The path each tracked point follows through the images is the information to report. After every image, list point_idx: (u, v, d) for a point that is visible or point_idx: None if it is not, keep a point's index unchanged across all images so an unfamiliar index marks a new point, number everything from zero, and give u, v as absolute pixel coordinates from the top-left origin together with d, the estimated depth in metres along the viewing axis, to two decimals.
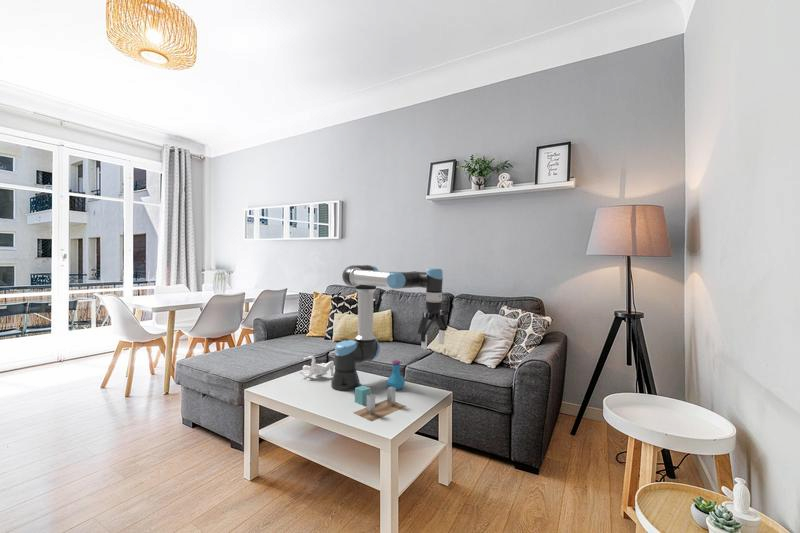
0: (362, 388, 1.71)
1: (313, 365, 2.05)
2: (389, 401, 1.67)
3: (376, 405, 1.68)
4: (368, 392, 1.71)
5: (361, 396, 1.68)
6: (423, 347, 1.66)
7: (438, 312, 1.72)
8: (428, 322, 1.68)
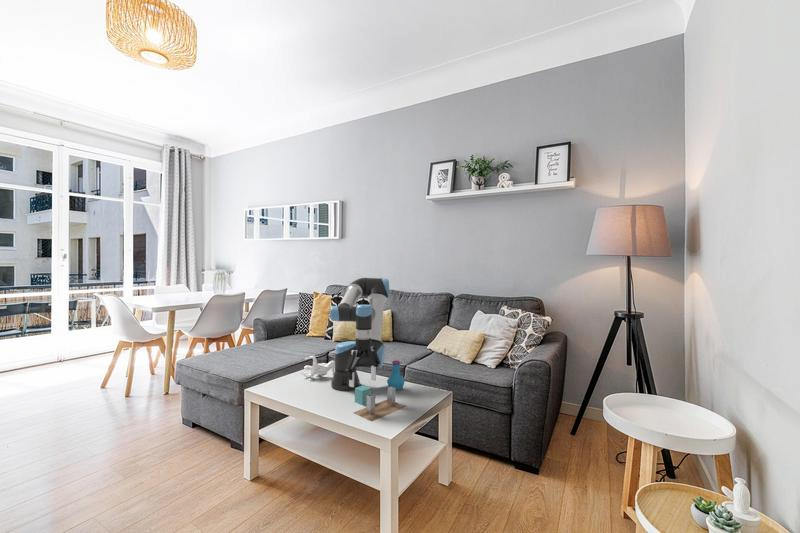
0: (362, 388, 1.71)
1: (315, 365, 2.05)
2: (389, 401, 1.67)
3: (376, 405, 1.68)
4: (368, 392, 1.71)
5: (361, 396, 1.68)
6: (350, 385, 1.66)
7: (368, 349, 1.72)
8: (356, 359, 1.67)
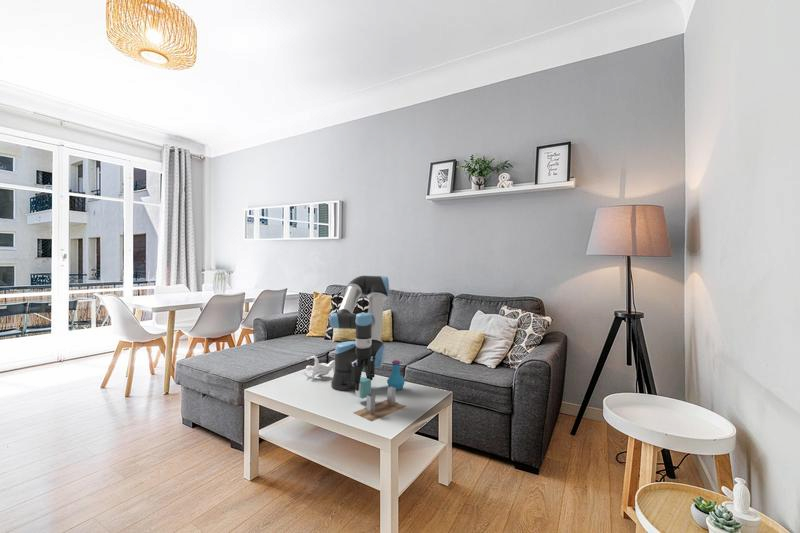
0: (362, 380, 1.71)
1: (317, 365, 2.06)
2: (389, 401, 1.67)
3: (376, 405, 1.68)
4: (368, 384, 1.71)
5: (361, 388, 1.69)
6: (357, 395, 1.70)
7: (368, 356, 1.72)
8: (359, 370, 1.69)
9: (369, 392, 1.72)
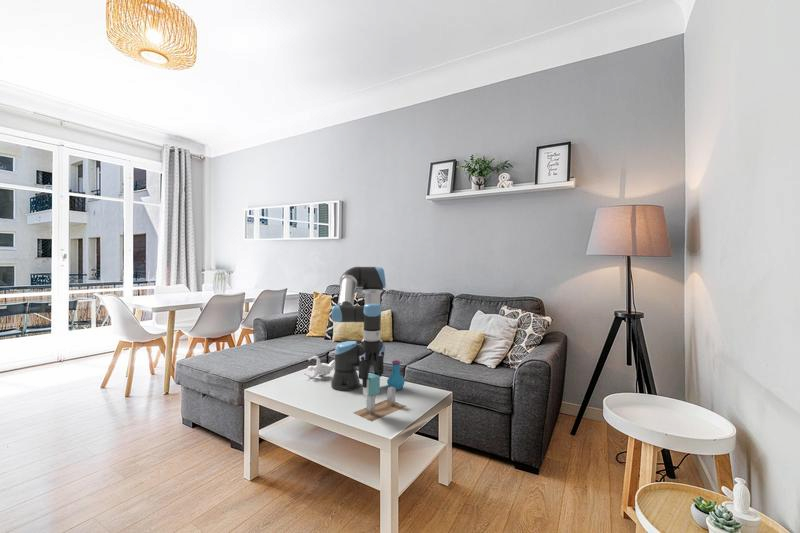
0: (371, 376, 1.58)
1: (319, 365, 2.06)
2: (389, 401, 1.67)
3: (376, 405, 1.68)
4: (377, 380, 1.58)
5: (370, 384, 1.55)
6: (365, 393, 1.56)
7: (377, 350, 1.59)
8: (367, 365, 1.56)
9: (378, 389, 1.58)
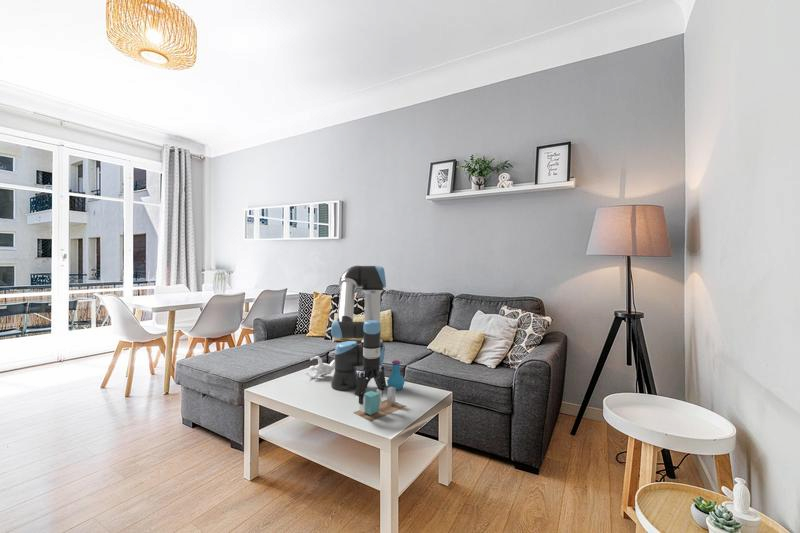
0: (370, 394, 1.58)
1: (320, 365, 2.06)
2: (389, 401, 1.67)
3: None
4: (377, 398, 1.58)
5: (369, 403, 1.56)
6: (361, 410, 1.55)
7: (377, 367, 1.60)
8: (365, 381, 1.55)
9: (377, 407, 1.58)
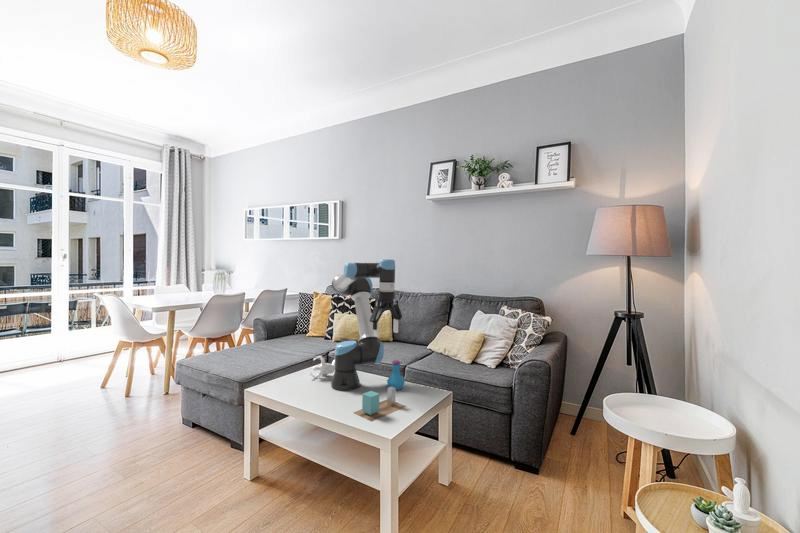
0: (370, 394, 1.58)
1: (324, 364, 2.07)
2: (389, 401, 1.67)
3: None
4: (377, 398, 1.58)
5: (369, 403, 1.56)
6: (375, 335, 1.72)
7: (391, 301, 1.78)
8: (380, 311, 1.74)
9: (377, 407, 1.58)
